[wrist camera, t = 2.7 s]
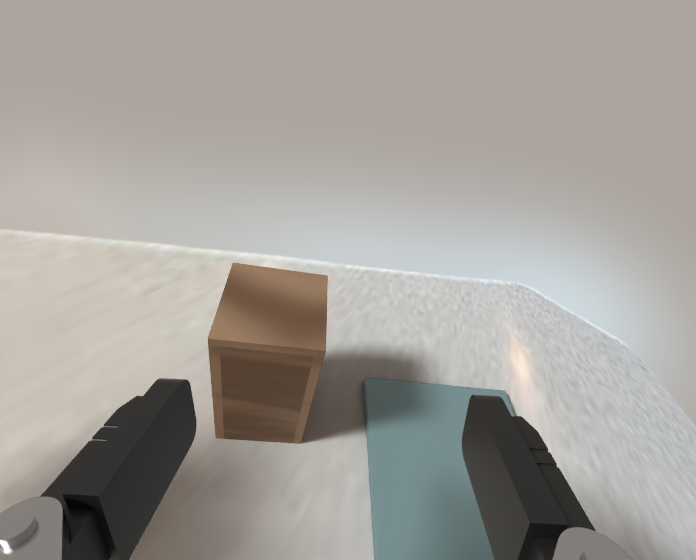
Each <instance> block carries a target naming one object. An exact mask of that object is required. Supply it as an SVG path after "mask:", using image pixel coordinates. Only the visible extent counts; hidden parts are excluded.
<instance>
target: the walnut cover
mask: <svg viewBox="0 0 696 560" xmlns="http://www.w3.org/2000/svg"><path fill="white" fill-rule="evenodd" d="M327 282H328V276H326V275H319V274H311V273H304V272H297V271H290V270H282V269H275V268H268V267H260V266H253V265H246V264H239V263H233V264H232V267H231V270H230V273H229V276H228V279H227V282H226V285H225V288H224V291H223V294H222V297H221V300H220V303H219V306H218V309H217V312H216V315H215V318H214V321H213V324H212V327H211V330H210V333H209V336H208V347H209V359H210V372H211V384H212V397H213V409H214V422H215V434H216V438H223V439H239V440H254V441H270V442H286V443H301V441H302V437H303V433H304V430H305V426H306V422H307V419H308V415H309V411H310V407H311V404H312V400H313V396H314V393H315V389H316V385H317V382H318V378H319V374H320V371H321V367H322V363H323V360H324V356H325V352H326V324H327Z"/></svg>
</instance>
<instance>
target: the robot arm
mask: <svg viewBox="0 0 696 560" xmlns="http://www.w3.org/2000/svg"><path fill="white" fill-rule="evenodd" d="M195 433H196V416H195V410H194V404H193V398H192V392H191V386H190V383H189V381H188V380H183V379H163V378H161V379H158V380H156V381H155V383H154V384H153V385H152V386H151V387H150V389H149V390H148V391H147V392H146V393H145V395H144V396H136V397H135V398H133V399H132V400H130V401H129V402H127V403H126V404H124V405H123V406H121V407H120V408H118V409H117V410H116V412H115V413H114V414H113V415H112V416H111V417H110V418H109V419H108V421H107V422H106V423H105V424H104V427H103V428H101V429H100V430H99V431H98V432H97V433H96V434H95V435H94V436H93V438H92V441H89V442H88V443H87V444H86V446H85V447H84V448H83V449H82V450H81V451H80V452H79V453H78V455H77V456H76V457H75V458H74V459H73V460H72V461H71V463H70V464H69V465H68V466H67V467H66V468H65V469H64V470H63V472H62V473H61V474H60V475H59V476H58V477H57V478H56V480H55V481H54V482H53V483H52V484H51V485H50V486H49V487H48V489H47V490H46V491H45V492H44V493H43V494H42V495H41V496H40V497H35V498H31V499H28V500H25V501H22V502H20V503H17V504H15V505H13V506H11V507H10V508H8V509H6V510H4V511H3V512H1V513H0V560H129V558H130V556H131V554H132V553H133V551H134V549H135V547H136V545H137V543H138V542H139V540H140V538H141V536H142V534H143V532H144V531H145V529H146V527H147V525H148V523H149V522H150V520H151V518H152V516H153V514H154V512H155V511H156V509H157V507H158V505H159V503H160V501H161V500H162V498H163V496H164V494H165V492H166V490H167V489H168V487H169V485H170V483H171V481H172V479H173V478H174V476H175V474H176V472H177V470H178V468H179V467H180V465H181V463H182V461H183V459H184V457H185V456H186V454H187V452H188V450H189V448H190V447H191V445H192V442H193V440H194V437H195ZM462 453H463V458H464V462H465V465H466V468H467V472H468V475H469V478H470V481H471V485H472V488H473V491H474V494H475V498H476V501H477V504H478V507H479V511H480V514H481V517H482V520H483V524H484V527H485V530H486V533H487V537H488V540H489V543H490V546H491V550H492V553H493V556H494V559H495V560H632V558H631V557H630V556H629V555H628V554H627V553H626V552H625V551H624V550H623V549H622V548H621V547H620V546H619V545H617V544H616V543H615V542H613V541H612V540H610V539H609V538H607V537H606V536H604V535H602V534H600V533H598V532H596V530H595V529H594V527H593V526H592V524H591V522H590V521H589V519H588V517H587V515H586V514H585V512H584V510H583V509H582V507H581V505H580V503H579V502H578V500H577V498H576V497H575V495H574V493H573V491H572V490H571V488H570V486H569V484H568V483H567V481H566V479H565V478H564V476H563V474H562V472H561V471H560V469H559V468H557V466H556V462H555V460H554V459H553V457H552V455H551V454H550V453H548V448H547V447H546V445H545V443H544V442H543V440H542V438H541V436H540V435H539V433H538V431H536V430H535V429H534V428H533V427H532V426H531V425H530V424H529V423H528V422H527V421H526V420H525V419H524V418H522V417H520V416H511V414H510V412H509V410H508V408H507V406H506V404H505V402H504V400H503V399H502V398H501V397H500V396H489V395H472V396H471V397H470V400H469V404H468V409H467V414H466V419H465V424H464V429H463V434H462Z"/></svg>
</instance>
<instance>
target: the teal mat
mask: <svg viewBox="0 0 696 560" xmlns="http://www.w3.org/2000/svg"><path fill="white" fill-rule="evenodd" d="M363 388H364V403H365V419H366V434H367V449H368V465H369V480H370V496H371V511H372V526H373V542H374V557H375V560H495V559H494V556H493V553H492V550H491V546H490V543H489V540H488V537H487V533H486V530H485V527H484V524H483V520H482V517H481V514H480V511H479V507H478V504H477V501H476V498H475V494H474V491H473V488H472V485H471V481H470V478H469V475H468V472H467V468H466V465H465V462H464V458H463V453H462V434H463V429H464V424H465V419H466V414H467V409H468V404H469V400H470V397H471V396H472V395H489V396H500V397H501V398H502V399H503V400H504V402H505V404H506V406H507V408H508V410H509V412H510V414H511V416H515V415H514V412H513V410H512V407H511V404H510V402H509V399H508V397H507V394H506V392H505V391H502V390H492V389H481V388H470V387H460V386H449V385H439V384H428V383H418V382H407V381H396V380H386V379H375V378H365V379H364V382H363Z"/></svg>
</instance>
